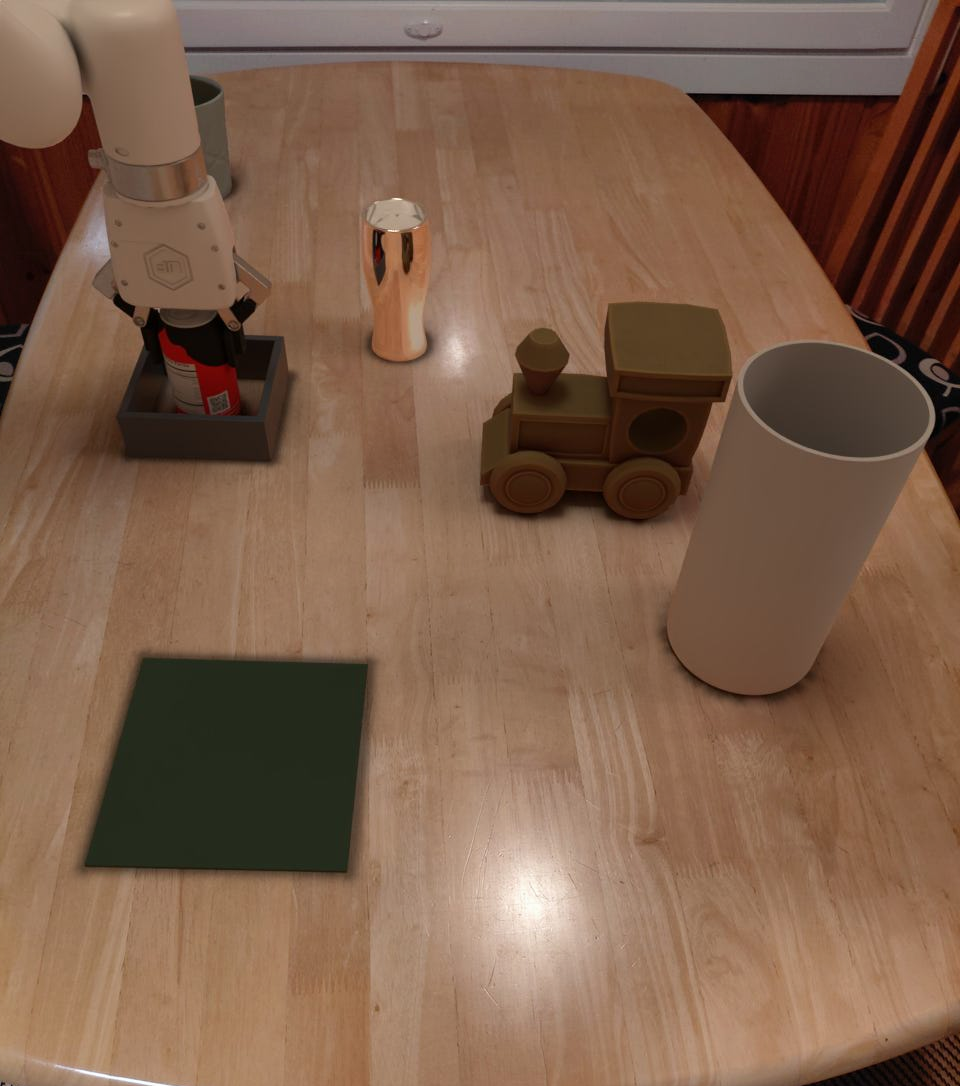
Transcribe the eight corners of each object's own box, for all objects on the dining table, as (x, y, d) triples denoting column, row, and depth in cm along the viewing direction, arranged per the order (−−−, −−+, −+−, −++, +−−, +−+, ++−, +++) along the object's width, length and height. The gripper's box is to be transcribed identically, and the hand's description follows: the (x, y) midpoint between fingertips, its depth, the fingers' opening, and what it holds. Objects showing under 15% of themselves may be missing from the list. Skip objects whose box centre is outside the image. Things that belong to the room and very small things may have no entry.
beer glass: (380, 371, 103) (373, 237, 91) (358, 335, 107) (349, 203, 95) (440, 357, 105) (441, 224, 93) (417, 322, 109) (415, 191, 97)
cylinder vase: (663, 577, 86) (732, 331, 66) (804, 592, 85) (915, 349, 66) (666, 691, 78) (744, 450, 58) (821, 707, 77) (953, 470, 58)
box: (129, 458, 93) (115, 416, 89) (159, 372, 101) (148, 330, 97) (271, 463, 93) (264, 421, 89) (289, 377, 101) (283, 335, 98)
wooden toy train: (680, 448, 97) (719, 299, 84) (693, 529, 90) (737, 380, 77) (481, 438, 96) (489, 287, 83) (478, 518, 89) (486, 367, 76)
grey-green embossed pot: (160, 210, 122) (137, 110, 112) (157, 172, 128) (136, 75, 118) (241, 204, 123) (226, 105, 114) (235, 167, 129) (220, 70, 120)
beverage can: (254, 422, 97) (235, 316, 87) (195, 444, 94) (170, 337, 85) (225, 389, 100) (205, 283, 90) (168, 409, 97) (141, 303, 88)
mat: (85, 867, 66) (84, 865, 66) (144, 660, 78) (143, 657, 77) (347, 873, 67) (346, 871, 67) (367, 666, 78) (367, 663, 78)
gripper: (35, 185, 75) (96, 378, 89) (258, 195, 76) (284, 385, 90) (61, 141, 80) (116, 331, 94) (272, 151, 80) (295, 338, 94)
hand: (198, 356), depth 91 cm, fingers closed on beverage can, 6 cm apart
